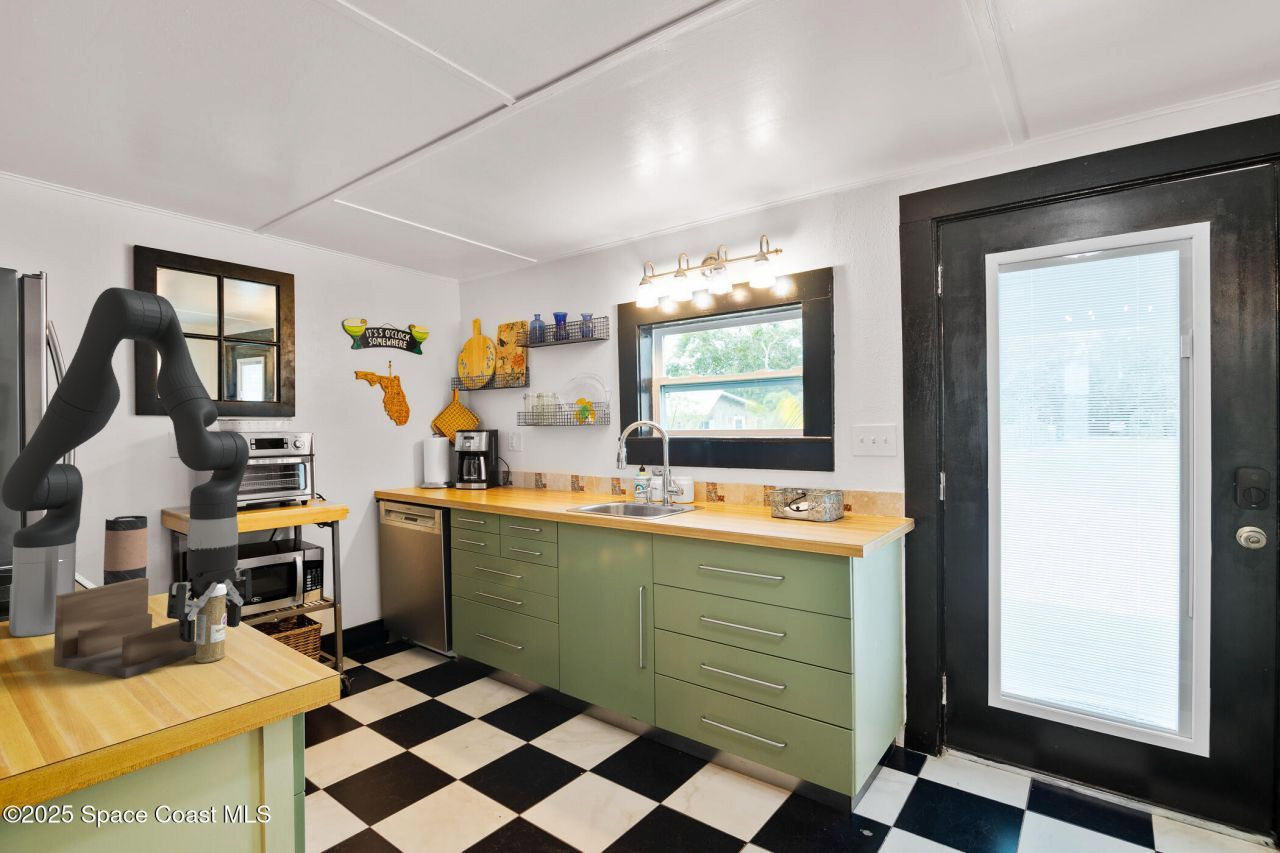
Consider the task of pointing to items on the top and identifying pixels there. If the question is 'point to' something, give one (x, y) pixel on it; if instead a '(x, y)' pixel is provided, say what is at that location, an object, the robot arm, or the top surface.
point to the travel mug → (125, 549)
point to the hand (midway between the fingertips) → (211, 633)
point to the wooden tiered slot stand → (114, 632)
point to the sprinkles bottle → (211, 627)
